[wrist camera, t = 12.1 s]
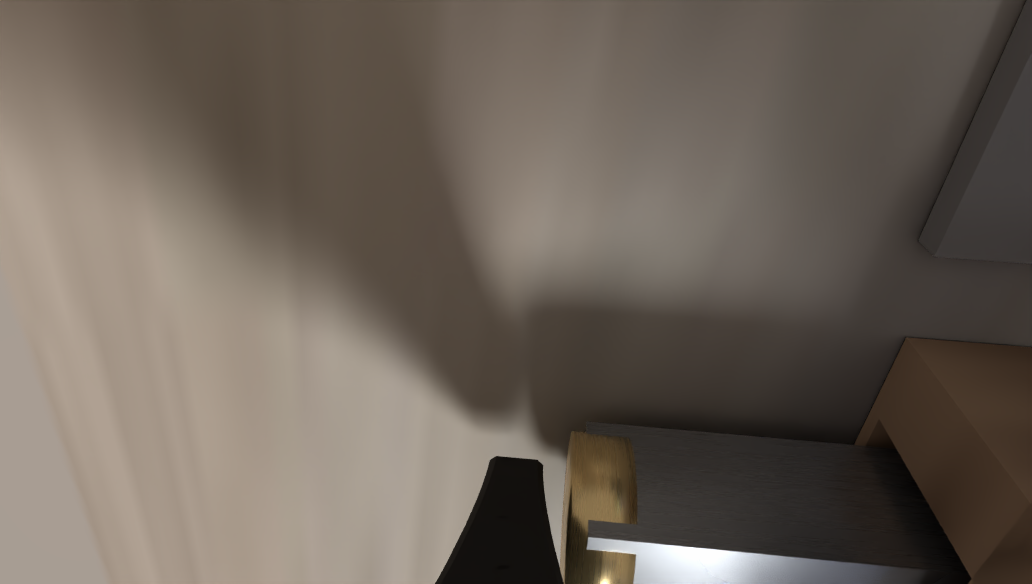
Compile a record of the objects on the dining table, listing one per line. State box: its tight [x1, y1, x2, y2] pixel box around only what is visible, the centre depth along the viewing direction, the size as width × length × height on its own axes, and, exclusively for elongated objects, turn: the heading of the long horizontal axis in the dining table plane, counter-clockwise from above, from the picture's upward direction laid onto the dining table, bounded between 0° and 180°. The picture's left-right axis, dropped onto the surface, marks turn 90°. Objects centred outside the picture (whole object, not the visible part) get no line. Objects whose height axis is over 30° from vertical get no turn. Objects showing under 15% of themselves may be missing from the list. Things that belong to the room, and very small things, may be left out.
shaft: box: [560, 422, 972, 584], centre depth 10 cm, size 14×3×3 cm, turn 88°
